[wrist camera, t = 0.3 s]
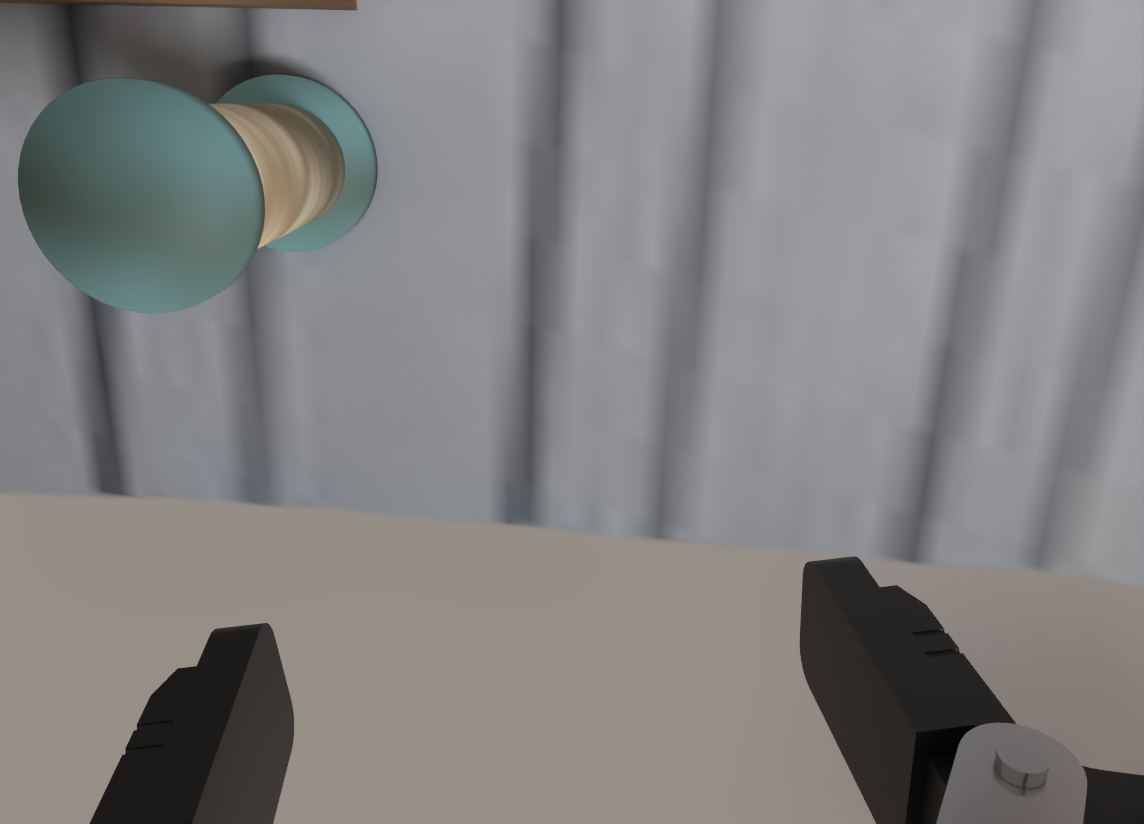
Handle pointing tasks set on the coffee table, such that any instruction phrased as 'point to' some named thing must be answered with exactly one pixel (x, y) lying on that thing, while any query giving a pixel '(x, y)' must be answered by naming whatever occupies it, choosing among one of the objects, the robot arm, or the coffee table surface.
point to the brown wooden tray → (213, 3)
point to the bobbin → (189, 183)
